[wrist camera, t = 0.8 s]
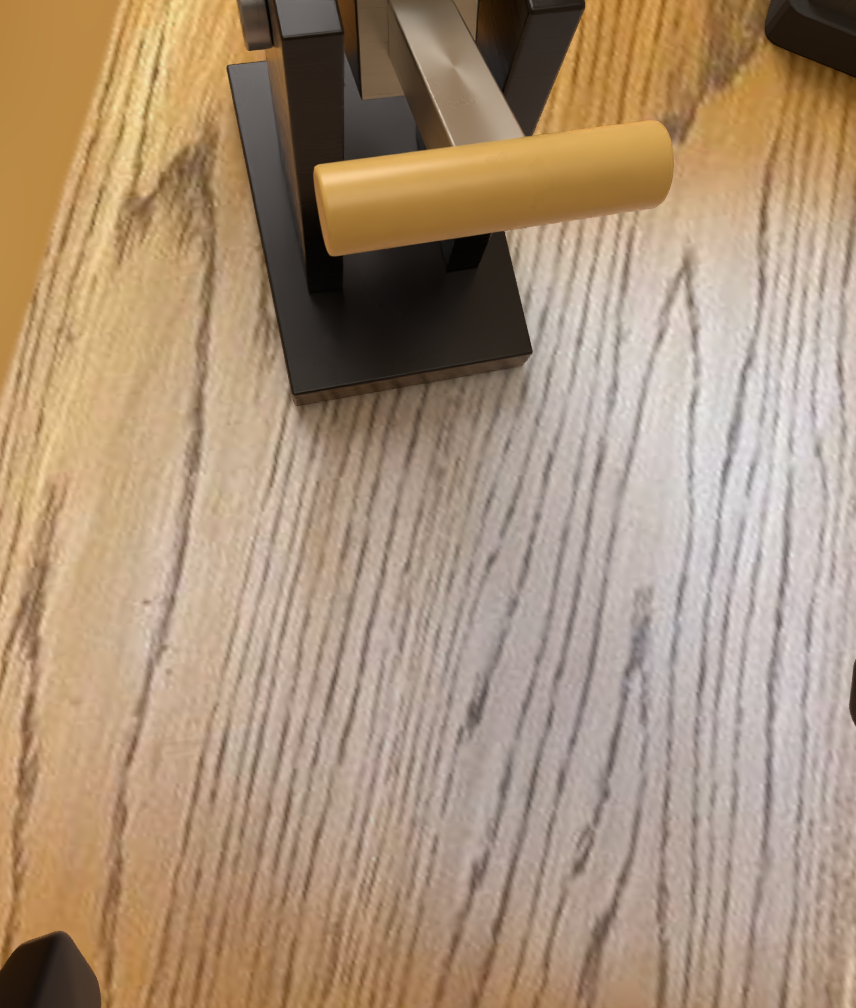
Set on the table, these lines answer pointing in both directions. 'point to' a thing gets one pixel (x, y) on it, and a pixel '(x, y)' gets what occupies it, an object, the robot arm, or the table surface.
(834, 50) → the keyboard
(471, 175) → the lever
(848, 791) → the table surface
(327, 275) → the black upright frame
